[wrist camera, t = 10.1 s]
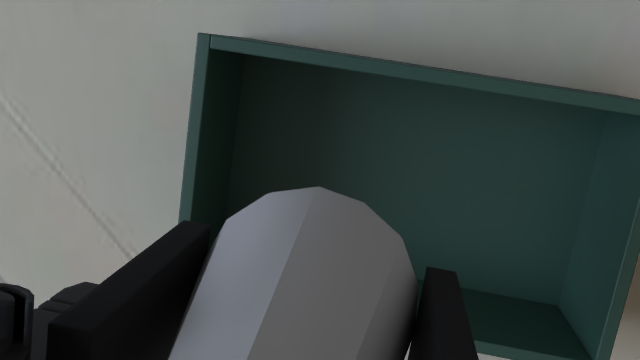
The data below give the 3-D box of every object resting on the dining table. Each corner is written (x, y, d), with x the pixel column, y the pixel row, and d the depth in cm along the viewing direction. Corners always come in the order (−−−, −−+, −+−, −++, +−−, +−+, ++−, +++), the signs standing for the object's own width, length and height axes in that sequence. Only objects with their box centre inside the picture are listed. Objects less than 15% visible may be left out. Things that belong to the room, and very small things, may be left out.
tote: (213, 247, 36) (170, 292, 29) (238, 37, 33) (197, 32, 26) (564, 313, 34) (605, 378, 27) (619, 95, 31) (680, 107, 25)
